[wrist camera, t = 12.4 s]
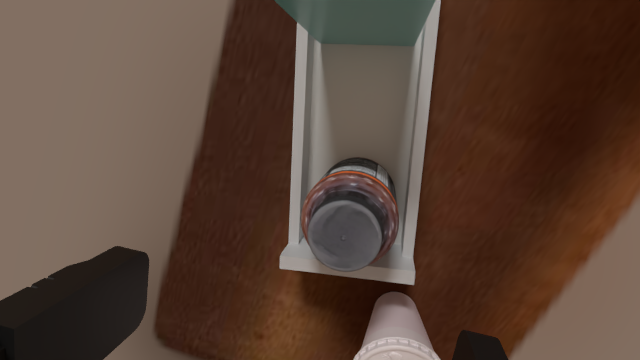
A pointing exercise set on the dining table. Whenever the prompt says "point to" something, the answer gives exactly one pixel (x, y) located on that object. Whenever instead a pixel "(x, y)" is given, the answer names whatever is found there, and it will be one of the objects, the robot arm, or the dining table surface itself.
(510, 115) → the dining table surface
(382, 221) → the supplement bottle
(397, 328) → the smoothie
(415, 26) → the pusher
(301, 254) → the lane
